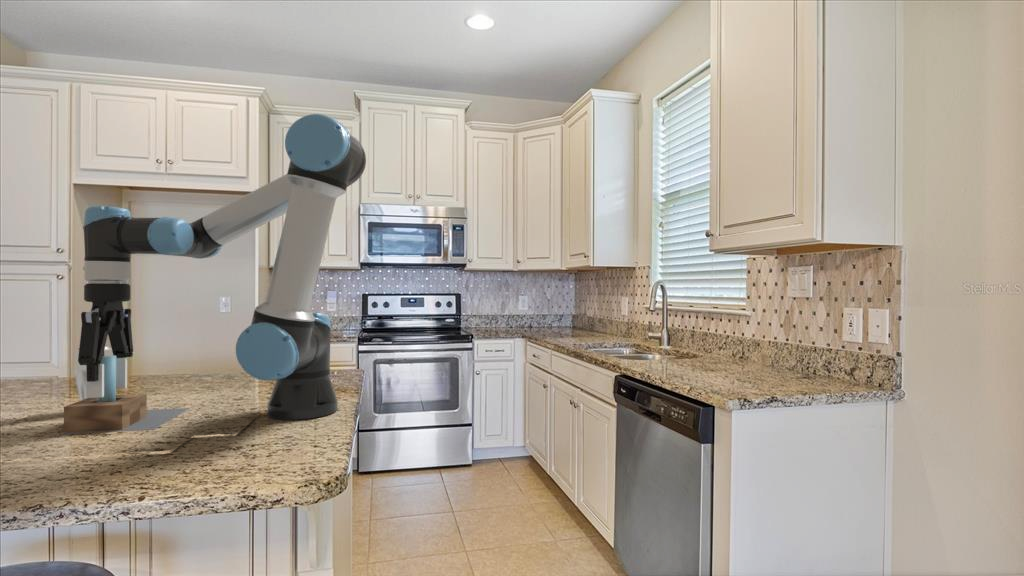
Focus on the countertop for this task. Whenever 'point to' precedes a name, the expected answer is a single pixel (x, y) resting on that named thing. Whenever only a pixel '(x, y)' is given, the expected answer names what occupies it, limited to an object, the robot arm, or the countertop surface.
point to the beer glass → (84, 372)
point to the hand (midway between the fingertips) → (107, 392)
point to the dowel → (109, 379)
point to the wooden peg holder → (105, 413)
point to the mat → (147, 420)
